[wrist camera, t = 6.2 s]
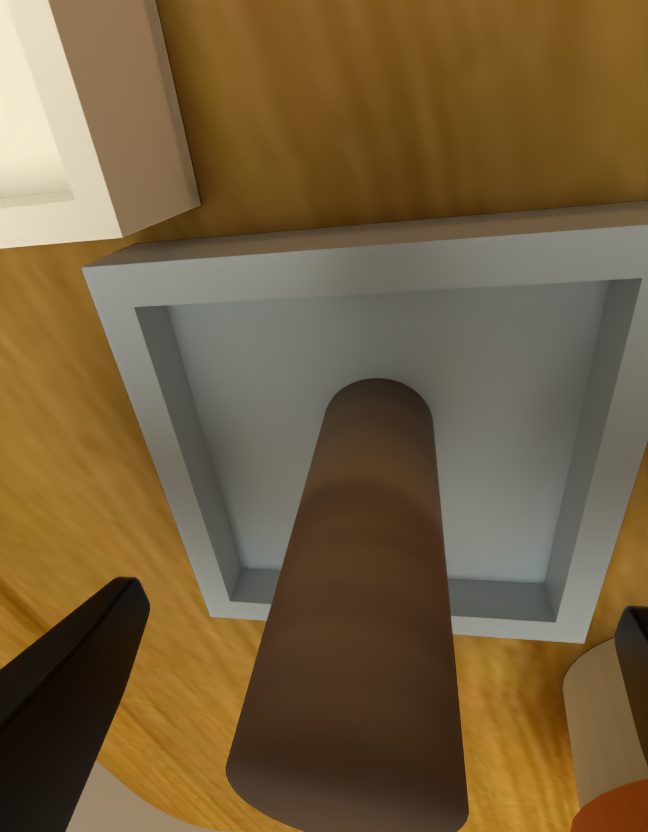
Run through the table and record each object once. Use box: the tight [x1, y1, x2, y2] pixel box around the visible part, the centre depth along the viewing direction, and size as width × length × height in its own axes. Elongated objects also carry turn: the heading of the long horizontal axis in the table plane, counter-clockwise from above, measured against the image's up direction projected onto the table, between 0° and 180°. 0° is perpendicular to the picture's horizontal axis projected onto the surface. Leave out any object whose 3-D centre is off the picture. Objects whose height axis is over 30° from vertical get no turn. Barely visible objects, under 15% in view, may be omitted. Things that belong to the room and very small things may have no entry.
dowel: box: [226, 378, 469, 832], centre depth 10 cm, size 3×3×9 cm
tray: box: [81, 200, 648, 644], centre depth 14 cm, size 13×13×2 cm
